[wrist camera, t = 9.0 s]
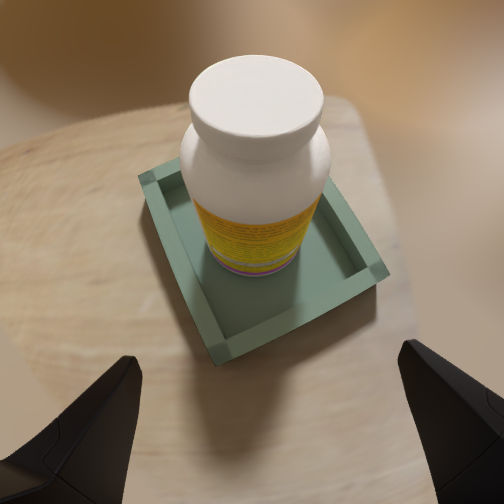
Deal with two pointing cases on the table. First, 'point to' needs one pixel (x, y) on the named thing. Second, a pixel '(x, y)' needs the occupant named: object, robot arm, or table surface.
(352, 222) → the tub
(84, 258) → the table surface
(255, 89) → the supplement bottle
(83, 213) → the table surface
